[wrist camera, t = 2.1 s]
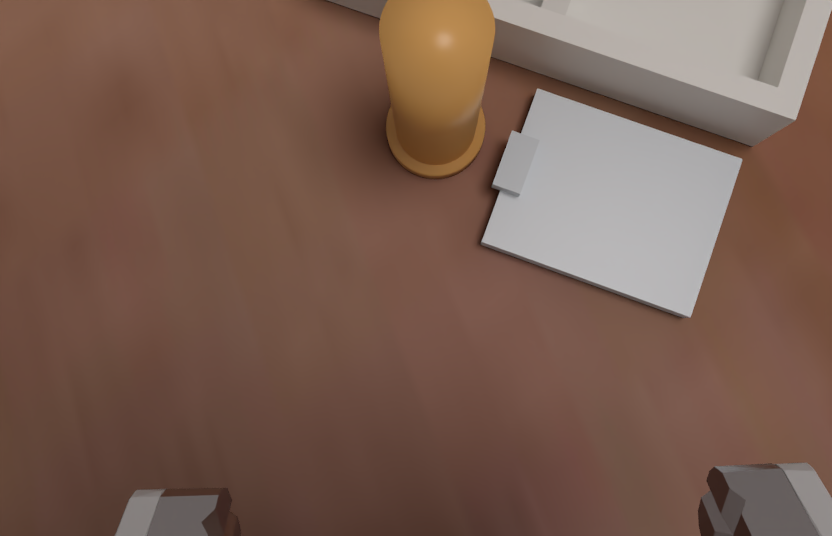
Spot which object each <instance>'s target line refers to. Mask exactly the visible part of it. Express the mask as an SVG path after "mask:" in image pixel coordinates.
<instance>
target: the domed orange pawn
mask: <svg viewBox="0 0 832 536" xmlns="http://www.w3.org/2000/svg"><path fill="white" fill-rule="evenodd" d="M379 35H380V42H381V48H382V54H383V60H384V66H385V71H386V77H387V83H388V89H389V95H390V101H391V107H390V109H389V112H388V115H387V120H386V132H387V138H388V142H389V146H390V149H391V151H392V153H393V155H394V157H395V158H396V160H397V161H398V162H399V163H400V164H401V165H402V166H403V167H404V168H405V169H406V170H408V171H409V172H411V173H413V174H415V175H417V176H420V177H424V178H429V179H442V178H447V177H451V176H453V175H456V174H458V173H460V172H462V171H463V170H464V169H466V168H467V167H468V166H469V165H470V164H471V163H472V162H473V161H474V160H475V158H476V157H477V155H478V153H479V151H480V149H481V146H482V143H483V139H484V134H485V117H484V113H483V110H482V108H481V102H482V97H483V92H484V87H485V82H486V77H487V72H488V68H489V63H490V58H491V53H492V48H493V43H494V37H495V19H494V15H493V11H492V9H491V7H490V4H489V3H488V1H487V0H388V1H387V2H386V4H385V6H384V8H383V11H382V14H381V17H380V23H379Z"/></svg>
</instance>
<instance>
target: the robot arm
mask: <svg viewBox="0 0 832 536" xmlns="http://www.w3.org/2000/svg"><path fill="white" fill-rule="evenodd" d="M706 481H707V483H708V486H709V488H710V491H709V492H708V493H707V494H705V495H704V496H703V497H701V500H700V505H699V509H698V520H699V529H700V533H701V536H832V498H831V496H830V494H829V493H828V491H827V490H826V488H825V486H824V485H823V483H822V481H821V480H820V478H819V476H818V475H817V473H816V472H815V470H814V468H813V467H811V466H810V465H809V464H808V463H787V464H772V463H769V464H751V465H734V466H716V467H713V468H712V469H711V470H710V471H709V474H708V477H707V480H706ZM231 502H232V499H231V496H230V493H229V491H228V488H188V489H146V490H136V491H135V492H134V494H133V495H132V496H131V497H130V499H129V501H128V503H127V506H126V508H125V511H124V513H123V516H122V518H121V521H120V523H119V526H118V528H117V531H116V534H115V536H241V529H240V524H239V520H238V517H237V516H236V515H235V514H233V513H232V512H230V511H229V510H230V506H231Z"/></svg>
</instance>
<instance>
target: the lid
mask: <svg viewBox="0 0 832 536" xmlns="http://www.w3.org/2000/svg"><path fill="white" fill-rule="evenodd" d="M742 160H743V159H741V158H738V157H735V156H732V155H729V154H726V153H723V152H720V151H717V150H714V149H712V148H709V147H706V146H703V145H700V144H697V143H694V142H691V141H688V140H686V139H683V138H680V137H677V136H674V135H671V134H668V133H665V132H662V131H659V130H657V129H654V128H651V127H648V126H645V125H642V124H639V123H636V122H633V121H631V120H628V119H625V118H622V117H619V116H616V115H613V114H610V113H607V112H604V111H602V110H599V109H596V108H593V107H590V106H587V105H584V104H581V103H578V102H576V101H573V100H570V99H567V98H564V97H561V96H558V95H555V94H552V93H549V92H547V91H544V90H541V89H537V91H536V93H535V96H534V99H533V101H532V104H531V107H530V110H529V112H528V115H527V118H526V121H525V123H524V126H523V129H522V132H521V133H518V132H515V131H512V132H511V135H510V138H509V140H508V143H507V146H506V148H505V151H504V154H503V157H502V159H501V162H500V165H499V168H498V170H497V173H496V176H495V178H494V181H493V184H492V188H494V189H497V190H500V192H499V195H498V197H497V200H496V203H495V206H494V208H493V211H492V214H491V217H490V219H489V222H488V225H487V228H486V230H485V233H484V236H483V239H482V241H481V244H480V245H483V246H486V247H488V248H491V249H494V250H497V251H499V252H502V253H505V254H508V255H510V256H513V257H516V258H519V259H521V260H524V261H527V262H530V263H533V264H535V265H538V266H541V267H544V268H546V269H549V270H552V271H555V272H557V273H560V274H563V275H566V276H568V277H571V278H574V279H577V280H579V281H582V282H585V283H588V284H591V285H593V286H596V287H599V288H602V289H604V290H607V291H610V292H613V293H615V294H618V295H621V296H624V297H626V298H629V299H632V300H635V301H637V302H640V303H643V304H646V305H649V306H651V307H654V308H657V309H660V310H662V311H665V312H668V313H671V314H673V315H676V316H679V317H682V318H689V317H691V314H692V311H693V308H694V305H695V302H696V299H697V296H698V293H699V290H700V287H701V284H702V281H703V278H704V275H705V272H706V269H707V266H708V263H709V260H710V257H711V254H712V251H713V248H714V245H715V242H716V239H717V236H718V233H719V230H720V227H721V223H722V220H723V217H724V214H725V211H726V208H727V205H728V202H729V199H730V196H731V193H732V190H733V187H734V184H735V181H736V178H737V175H738V172H739V169H740V166H741V163H742Z"/></svg>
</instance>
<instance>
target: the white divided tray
mask: <svg viewBox="0 0 832 536" xmlns="http://www.w3.org/2000/svg"><path fill="white" fill-rule="evenodd" d="M328 1H330V2H333V3H336V4H339V5H342V6H345V7H348V8H351V9H354V10H357V11H360V12H362V13H365V14H368V15H371V16H374V17H377V18H380V17H381V14H382V11H383V8H384V6H385V4H386V2H387V1H388V0H328ZM487 1H488V3H489V4H490V7H491V9H492V11H493V15H494V19H495V37H494V43H493V48H492V53H491V57H493V58H496V59H499V60H502V61H505V62H508V63H511V64H514V65H516V66H519V67H522V68H525V69H528V70H531V71H534V72H537V73H540V74H543V75H546V76H548V77H551V78H554V79H557V80H560V81H563V82H566V83H569V84H572V85H575V86H578V87H580V88H583V89H586V90H589V91H592V92H595V93H598V94H601V95H604V96H607V97H610V98H612V99H615V100H618V101H621V102H624V103H627V104H630V105H633V106H636V107H639V108H641V109H644V110H647V111H650V112H653V113H656V114H659V115H662V116H665V117H668V118H671V119H673V120H676V121H679V122H682V123H685V124H688V125H691V126H694V127H697V128H700V129H703V130H705V131H708V132H711V133H714V134H717V135H720V136H723V137H726V138H729V139H732V140H735V141H737V142H740V143H743V144H746V145H749V146H752V147H753V146H755V145H756V144H758V143H759V142H761V141H763V140H764V139H766V138H768V137H769V136H771V135H772V134H774V133H776V132H777V131H779V130H781V129H782V128H784V127H785V126H787V125H789V124H790V123H792V122H794V121H795V120H796V118H797V115H798V112H799V108H800V105H801V102H802V99H803V96H804V93H805V90H806V87H807V84H808V81H809V78H810V74H811V71H812V68H813V65H814V62H815V59H816V56H817V53H818V50H819V47H820V44H821V40H822V37H823V34H824V31H825V28H826V25H827V22H828V19H829V16H830V13H831V10H832V0H487Z"/></svg>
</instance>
